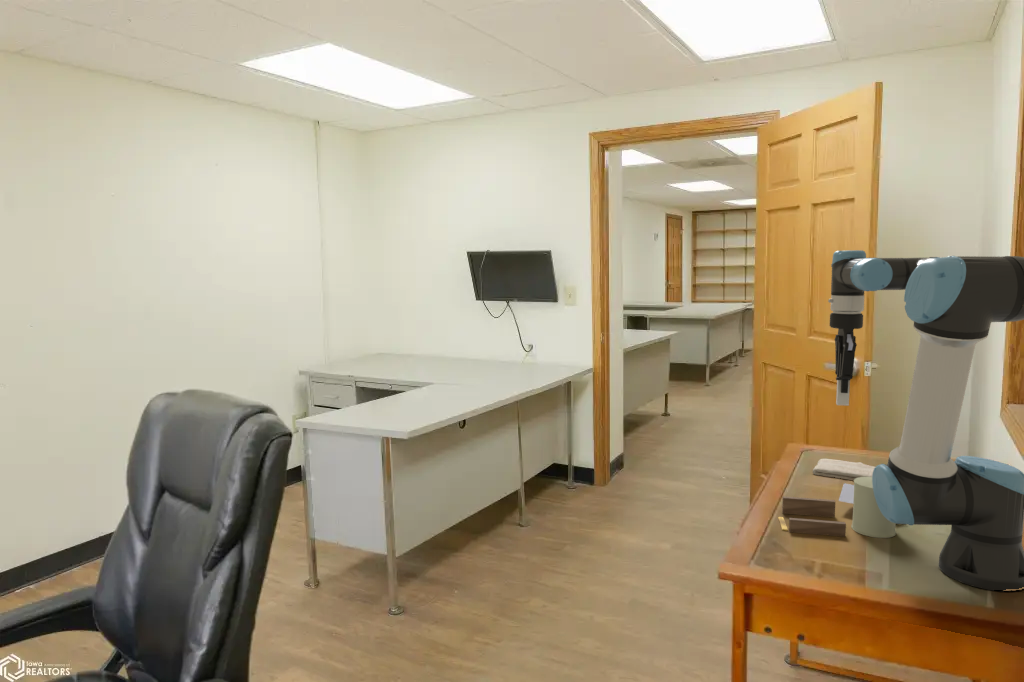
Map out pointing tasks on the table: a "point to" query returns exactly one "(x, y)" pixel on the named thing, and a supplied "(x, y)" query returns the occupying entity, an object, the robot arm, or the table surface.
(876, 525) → the can
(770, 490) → the table surface
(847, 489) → the wedge on round base
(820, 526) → the channel
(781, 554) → the table surface
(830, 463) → the washcloth
